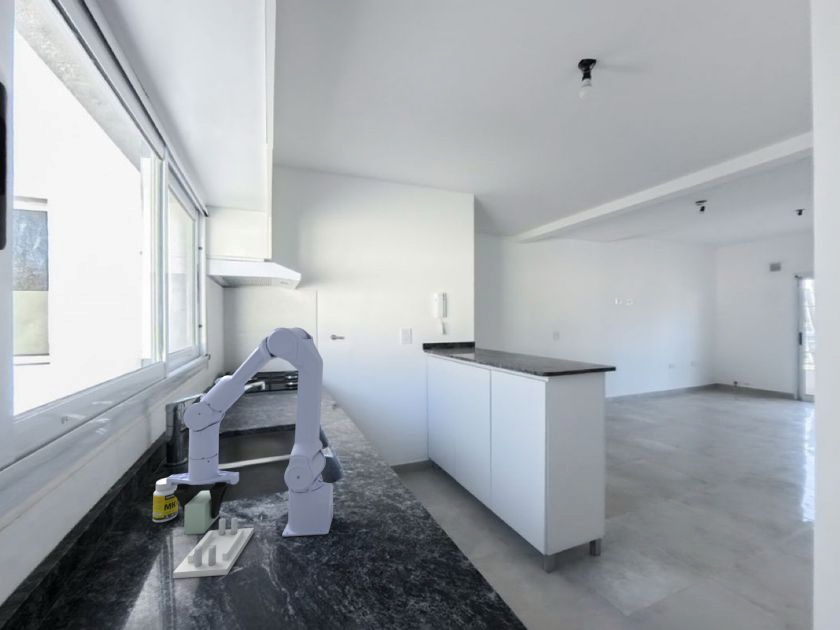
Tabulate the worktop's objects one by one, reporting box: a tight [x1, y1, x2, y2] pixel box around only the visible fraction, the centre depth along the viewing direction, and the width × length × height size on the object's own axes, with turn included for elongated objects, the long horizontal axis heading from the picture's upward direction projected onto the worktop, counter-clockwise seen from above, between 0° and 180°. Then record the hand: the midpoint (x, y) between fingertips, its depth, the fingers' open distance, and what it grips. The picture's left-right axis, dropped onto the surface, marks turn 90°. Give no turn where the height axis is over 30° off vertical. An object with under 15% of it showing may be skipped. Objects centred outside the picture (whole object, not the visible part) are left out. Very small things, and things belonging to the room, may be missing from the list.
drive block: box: [183, 490, 220, 535], centre depth 79 cm, size 4×7×6 cm, turn 6°
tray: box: [172, 516, 255, 579], centre depth 69 cm, size 9×13×4 cm
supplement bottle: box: [152, 477, 179, 523], centre depth 82 cm, size 5×5×8 cm
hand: (202, 517), depth 79 cm, fingers open, 5 cm apart
